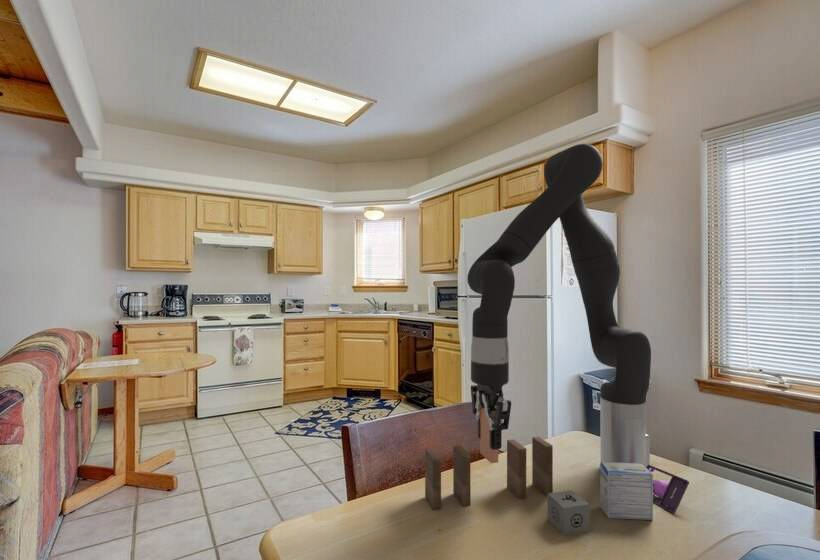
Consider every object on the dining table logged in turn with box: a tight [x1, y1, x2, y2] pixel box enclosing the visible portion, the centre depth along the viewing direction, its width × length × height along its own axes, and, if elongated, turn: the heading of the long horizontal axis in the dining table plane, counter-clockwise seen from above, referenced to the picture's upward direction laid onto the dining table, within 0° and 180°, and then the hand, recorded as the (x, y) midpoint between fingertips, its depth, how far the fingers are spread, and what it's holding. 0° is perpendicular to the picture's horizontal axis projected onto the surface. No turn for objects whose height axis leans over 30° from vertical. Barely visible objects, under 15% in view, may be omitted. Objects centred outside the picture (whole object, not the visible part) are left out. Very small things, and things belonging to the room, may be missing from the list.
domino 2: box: [452, 444, 472, 507], centre depth 82 cm, size 2×5×10 cm, turn 15°
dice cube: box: [547, 489, 591, 536], centre depth 73 cm, size 5×5×5 cm
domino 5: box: [531, 436, 554, 497], centre depth 86 cm, size 2×5×10 cm, turn 15°
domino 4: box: [506, 438, 527, 500], centre depth 85 cm, size 2×5×10 cm, turn 15°
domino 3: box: [479, 405, 499, 464], centre depth 83 cm, size 2×5×10 cm, turn 15°
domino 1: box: [424, 447, 442, 511], centre depth 80 cm, size 2×5×10 cm, turn 15°
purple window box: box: [646, 464, 690, 515], centre depth 82 cm, size 7×5×9 cm
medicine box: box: [599, 461, 654, 521], centre depth 77 cm, size 8×4×9 cm, turn 84°
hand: (489, 442), depth 83 cm, fingers closed on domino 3, 5 cm apart
